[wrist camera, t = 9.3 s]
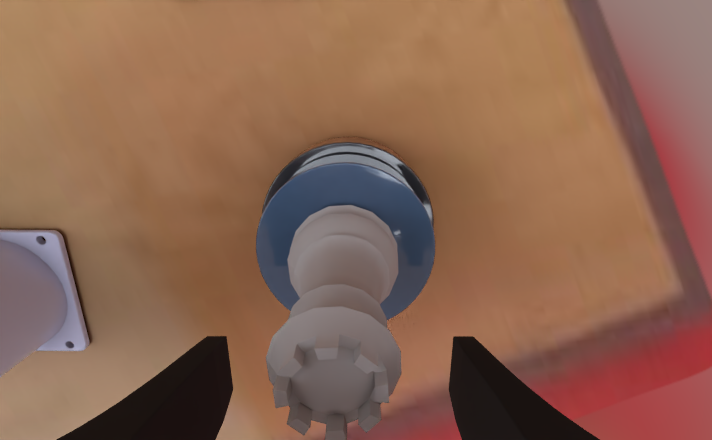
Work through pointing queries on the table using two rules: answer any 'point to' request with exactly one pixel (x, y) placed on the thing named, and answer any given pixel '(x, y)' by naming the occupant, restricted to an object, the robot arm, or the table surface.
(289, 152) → the table surface
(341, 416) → the rook chess piece
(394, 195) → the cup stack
